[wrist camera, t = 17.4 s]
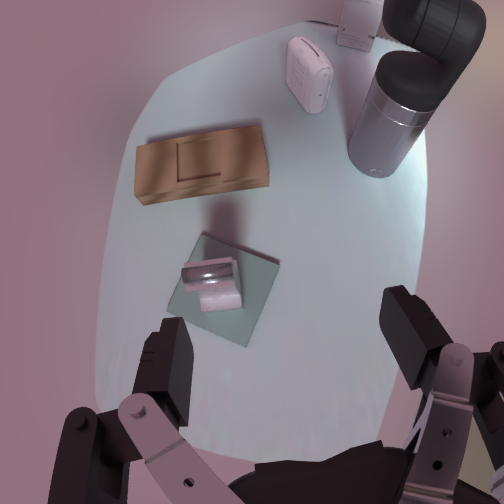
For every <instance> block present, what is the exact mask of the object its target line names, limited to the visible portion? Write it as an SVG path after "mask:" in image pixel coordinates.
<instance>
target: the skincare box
mask: <svg viewBox="0 0 504 504" xmlns="http://www.w3.org/2000/svg"><path fill="white" fill-rule="evenodd" d="M383 4H384V0H344V5H343V9H342V14H341V18H340V23H339V27H338V31H337V45H342V46H347V47H351V48H355V49H359V50H362V51H365V52H370V50H371V47H372V44H373V42H374V39H375V36H376V33H377V30H378V27H379V24H380V20H381V18H382V11H383Z"/></svg>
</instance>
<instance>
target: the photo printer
mask: <svg viewBox="0 0 504 504" xmlns="http://www.w3.org/2000/svg"><path fill="white" fill-rule="evenodd" d="M333 73H334V71H333V68H332V65H331V63H330V62H329V60H328V58H327V57H326V55H325V54H324V53H323V52H322V51H321V49H320V48H319V47H318V46H317V45H316V44H314V43H313V42H312V41H310V40H309V39H307V38H305V37H303V36H299V37H293V38H292V39H291V40H290V41H289V43H288V49H287V65H286V83H287V85H288V87H289V89H290V90H291V91H292V93H293V94H294V96H295V97H296V99H297V100H298V101H299V103H300V104H301V106H302V107H303V108H304V109H305V111H306V112H308V113H311V114H318V113H320V112H322V110H323V109H325V107H326V103H327V99H328V95H329V91H330V86H331V82H332V78H333Z"/></svg>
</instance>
